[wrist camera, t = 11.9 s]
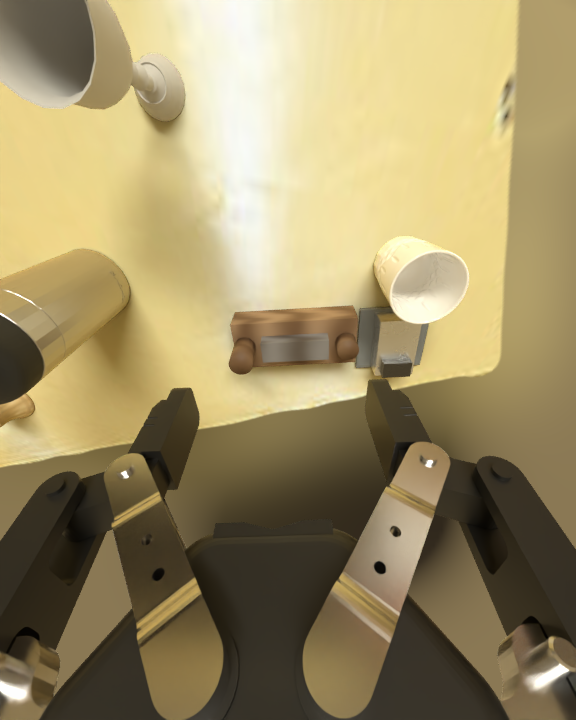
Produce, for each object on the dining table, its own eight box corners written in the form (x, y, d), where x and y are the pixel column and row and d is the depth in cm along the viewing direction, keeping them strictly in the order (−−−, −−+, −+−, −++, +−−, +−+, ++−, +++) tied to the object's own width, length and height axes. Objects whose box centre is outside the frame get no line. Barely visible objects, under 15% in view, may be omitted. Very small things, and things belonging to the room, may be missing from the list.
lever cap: (375, 312, 42) (383, 326, 38) (415, 310, 42) (426, 323, 38) (370, 364, 47) (376, 380, 43) (405, 362, 47) (414, 378, 43)
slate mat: (355, 365, 48) (356, 367, 47) (359, 308, 42) (360, 310, 42) (418, 362, 47) (419, 364, 47) (430, 304, 42) (432, 306, 41)
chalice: (110, 43, 28) (-105, -98, 13) (179, 28, 27) (41, -137, 12) (141, 139, 32) (7, 119, 17) (203, 129, 31) (120, 98, 16)
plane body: (242, 353, 47) (233, 386, 40) (235, 312, 43) (223, 342, 36) (350, 347, 46) (361, 381, 39) (352, 305, 42) (365, 334, 35)
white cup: (414, 296, 41) (445, 330, 33) (360, 285, 40) (378, 317, 32) (441, 237, 37) (485, 259, 28) (381, 224, 36) (408, 242, 28)
